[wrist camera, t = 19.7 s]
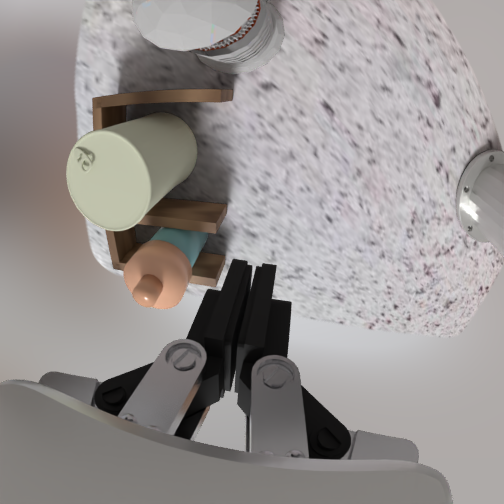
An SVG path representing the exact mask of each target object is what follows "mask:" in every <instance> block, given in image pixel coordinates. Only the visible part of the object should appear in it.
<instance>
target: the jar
mask: <svg viewBox="0 0 504 504" xmlns="http://www.w3.org/2000/svg"><path fill="white" fill-rule="evenodd" d="M207 239H208V233H207V232H199V231H191V230H183V229H175V228H167V227H161V228H160V229H159V230H158V231H157V232H156V234H155V235H154V236H153V237H152V238H151V239H150V241H151V240H162V241H166V242H169V243H171V244H173V245H175V246H176V247H177V248H179V249H180V250H181V251H182V252H183V253H184V254H185V255H186V257H187V258H188V260H189V262H190V264H191V268H192V267H193V265H194V263H195V261H196V260H197V258H198V256H199V254H200V252H201V250H202V248H203V247H204V245H205V243H206V241H207Z"/></svg>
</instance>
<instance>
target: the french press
mask: <svg viewBox="0 0 504 504" xmlns="http://www.w3.org/2000/svg"><path fill="white" fill-rule="evenodd" d="M269 1H270V0H267V1H265V0H132V13H133V22H134V23H135V25H136V27H137V28H138V30H139V31H140V33H141V35H142V36H143V37H144V38H145V39H147V40H149V41H150V42H152V43H153V44H155V45H156V46H158V47H160V48H164V49H171V50H178V51H189V52H192V53H195V54H196V55H197V56H198V58H199V59H200V61H201V62H203V63H204V64H206V65H207V66H209V67H210V68H212V69H213V70H215V71H220V72H224V73H229V74H238V73H246V72H251V71H253V70H255V69H257V68H260V67H262V66H264V65H266V64H267V63H268V62H269V61H270V60H271V59H272V58H273V57H274V56H275V55H276V54H277V53H278V52H279V50H280V47H281V44H282V42H283V39H284V36H285V33H284V26H283V19H282V18H281V16H280V15H279V13H278V12H277V10H276V9H275V7H274V6H273V5H272V4H270V3H268V2H269Z"/></svg>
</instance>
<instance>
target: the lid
mask: <svg viewBox="0 0 504 504" xmlns="http://www.w3.org/2000/svg"><path fill="white" fill-rule="evenodd" d="M191 278H192V268H191V264H190V262H189V260H188V258H187V257H186V255H185V254H184V253H183V252H182V251H181V250H180V249H179V248H177V247H176V246H175V245H173V244H171V243H169V242H166V241H162V240H151V241H148V242H146V243H144V244H143V245H142V246H141V247H140V248H139V249H138V250H137V251H136V253H135V254H134V255H133V256H132V257H131V259H130V260H129V261H128V262H127V264H126V265H125V268H124V279H125V283H126V285H127V287H128V289H129V290H130V291H131V293H132V295H133V298H134V299H135V301H136V302H137V303H138V304H140V305H142V306H144V307H153V308H157V309H168V308H172V307H174V306H176V305H177V304H178V303H179V302H180V301H181V299H182V297H183V295H184V293H185V291H186V289H187V287H188V285H189V283H190V280H191Z"/></svg>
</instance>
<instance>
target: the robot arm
mask: <svg viewBox="0 0 504 504" xmlns="http://www.w3.org/2000/svg"><path fill="white" fill-rule="evenodd" d="M456 211H457V216H458V220H459V223H460V225H461V227H462V228H463V230H464V231H465V232H466V233H467V234H468V235H469V236H470V237H471V238H472V239H474V240H476V241H478V242H490V243H491V244H492V245H493V246H494V247H495V248H496V249H497V251H498V252H499V253H500V254H501V255H502V256H503V257H504V152H503V151H500V150H488V151H485V152H482V153H481V154H479V155H478V156H476V157H475V158H474V159H473V160H472V161H471V162H470V163H469V165H468V166H467V168H466V169H465V171H464V173H463V175H462V177H461V179H460V183H459V186H458V190H457V195H456ZM247 264H248V262H247V261H245V260H238V259H233V260H232V263H231V265H230V268H229V271H228V273H227V276H226V279H225V281H224V284H223V287H222V289H221V291H218V290H213V289H208V290H207V291H206V293H205V296H204V298H203V300H202V303H201V305H200V307H199V310H198V312H197V315H196V317H195V319H194V322H193V324H192V326H191V329H190V331H189V333H188V336H187V338H186V339H179V340H175V341H173V342H171V343H169V344H167V345H166V346H165V347H164V348H163V350H162V351H161V353H160V354H159V356H158V357H157V359H156V360H155V361H154V362H153V363H150V364H148V365H145V366H143V367H140V368H137V369H135V370H132V371H130V372H127V373H124V374H122V375H119V376H116V377H114V378H111V379H108V380H106V381H104V382H98V380H97V379H93V378H87V377H81V376H76V375H70V374H64V373H60V372H49V373H46V374H45V375H43V376H42V377H41V379H40V381H39V383H37V382H33V381H28V380H6V381H3V382H1V383H0V504H453V500H452V495H451V490H450V487H449V484H448V482H447V480H446V478H445V477H444V476H443V475H442V473H440V472H439V471H437V470H435V469H433V468H431V467H428V466H426V465H423V464H419V463H418V458H419V455H418V454H419V453H418V449H417V447H416V445H415V444H414V443H413V442H412V441H410V440H407V439H402V438H396V437H390V436H385V435H380V434H374V433H370V432H365V431H360V430H358V431H357V432H354V431H349V430H347V428H346V427H345V426H344V425H343V424H342V423H341V422H340V421H338V419H336V418H335V417H334V416H333V415H332V414H331V413H330V412H329V411H328V410H327V409H326V408H325V407H323V405H322V404H320V403H319V402H318V401H317V400H316V399H315V398H314V397H313V396H312V395H311V394H310V393H309V392H308V391H307V390H306V389H305V388H304V387H303V386H302V385H301V380H300V373H299V370H298V367H297V366H296V365H295V363H294V362H292V361H291V360H290V359H288V358H287V354H288V342H289V331H290V319H291V304H292V303H291V302H290V301H283V300H276V299H272V293H273V287H274V280H275V273H276V266H277V265H272V264H265V263H263V264H262V267H259V266H256V270H255V274H254V278H253V282H252V286H251V277H252V265H247ZM250 288H251V290H250ZM235 370H236V376H235V392H236V393H238V402H237V404H238V406H239V407H240V408H241V409H242V410H243V412H244V413H245V414H246V416H245V417H246V418H245V451H239V450H233V449H228V448H222V447H217V446H213V445H208V444H204V443H200V442H195V441H194V440H195V438H196V436H197V434H198V432H199V430H200V428H201V426H202V424H203V422H204V419H205V418H206V415H207V413H208V411H209V409H210V405H212V404H213V403H216V402H218V401H219V400H220V397H221V398H223V396H224V393H225V390H226V391H230V390H231V387H232V383H233V378H234V374H235Z"/></svg>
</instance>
